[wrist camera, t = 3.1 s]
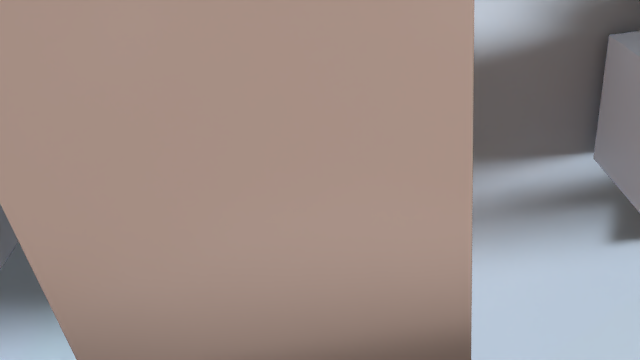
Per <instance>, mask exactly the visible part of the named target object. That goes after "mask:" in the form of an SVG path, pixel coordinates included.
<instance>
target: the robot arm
mask: <svg viewBox="0 0 640 360" xmlns="http://www.w3.org/2000/svg"><path fill="white" fill-rule="evenodd" d="M593 159H594V160H595V161H596V162H597V163H598V164H599V166H600V167H601V168H602V169H603V170H604V172H605V173H606V174H607V175H608V176H609V177H610V179H611V180H612V181H613V182H614V183H615V184H616V186H617V187H618V188H619V189H620V190H621V191H622V193H623V194H624V195H625V196H626V197H627V199H628V200H629V201H630V202H631V203H632V204H633V206H634V207H635V208H636V209H637V210H638V211H639V213H640V31H635V32H628V33H620V34H613V35H609V40H608V48H607V56H606V64H605V72H604V79H603V87H602V95H601V103H600V111H599V119H598V126H597V134H596V142H595V150H594V158H593ZM17 243H18V239H17V237H16V235H15V233H14V231H13V229H12V227H11V225H10V223H9V221H8V219H7V217H6V215H5V212H4V210H3V208H2V206H1V204H0V269H1V268H2V266H3V265H4V263H5V261H6V260H7V258H8V257H9V255H10V254H11V252H12V251H13V249H14V247H15V246H16V244H17Z"/></svg>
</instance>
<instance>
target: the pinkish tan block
mask: <svg viewBox="0 0 640 360" xmlns="http://www.w3.org/2000/svg"><path fill="white" fill-rule="evenodd" d="M473 81H474V0H0V204H1V206H2V208H3V210H4V212H5V215H6V217H7V219H8V221H9V223H10V225H11V227H12V229H13V231H14V233H15V235H16V237H17V239H18V241H19V243H20V245H21V247H22V249H23V251H24V253H25V255H26V257H27V259H28V261H29V263H30V266H31V268H32V270H33V272H34V274H35V276H36V278H37V280H38V282H39V284H40V286H41V288H42V290H43V292H44V294H45V296H46V298H47V300H48V302H49V304H50V306H51V308H52V310H53V312H54V314H55V317H56V319H57V321H58V323H59V325H60V327H61V329H62V331H63V333H64V335H65V337H66V339H67V341H68V343H69V345H70V347H71V349H72V351H73V353H74V355H75V357H76V359H77V360H471V305H472V193H473Z"/></svg>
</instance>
